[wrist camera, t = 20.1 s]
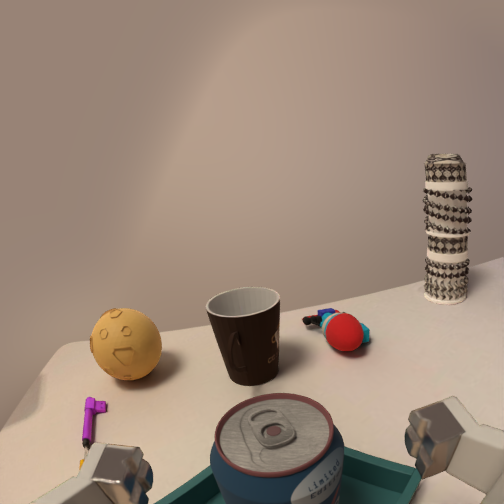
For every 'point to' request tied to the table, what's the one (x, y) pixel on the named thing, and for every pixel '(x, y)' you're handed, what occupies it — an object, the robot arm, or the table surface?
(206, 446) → the table surface
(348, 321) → the toy figure
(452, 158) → the decorative candle
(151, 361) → the stress ball
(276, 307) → the coffee mug
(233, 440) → the soda can
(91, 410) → the purple orange rod tool
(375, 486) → the bin
